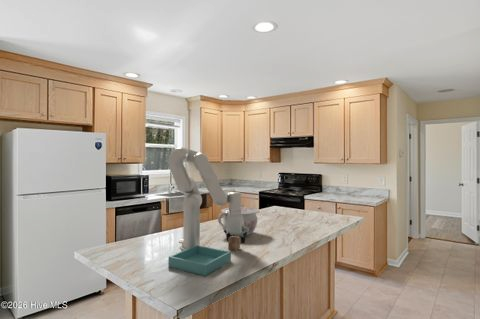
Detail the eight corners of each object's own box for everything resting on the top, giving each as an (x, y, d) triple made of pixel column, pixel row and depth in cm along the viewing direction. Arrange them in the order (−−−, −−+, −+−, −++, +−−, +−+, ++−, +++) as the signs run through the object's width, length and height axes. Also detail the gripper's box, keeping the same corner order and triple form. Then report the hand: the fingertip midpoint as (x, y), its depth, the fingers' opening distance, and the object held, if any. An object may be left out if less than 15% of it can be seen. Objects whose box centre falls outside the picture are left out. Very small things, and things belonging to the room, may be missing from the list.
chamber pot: (260, 230, 216) (260, 202, 216) (258, 240, 188) (259, 208, 188) (223, 228, 218) (223, 201, 218) (216, 238, 191) (217, 207, 191)
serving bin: (168, 267, 139) (168, 256, 139) (196, 254, 158) (196, 245, 158) (205, 276, 128) (205, 265, 128) (230, 261, 148) (230, 251, 148)
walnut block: (228, 249, 168) (228, 237, 168) (232, 247, 172) (232, 235, 172) (235, 250, 165) (235, 238, 165) (239, 248, 169) (240, 236, 169)
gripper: (219, 213, 169) (219, 242, 169) (245, 215, 161) (245, 245, 161) (225, 211, 176) (226, 239, 176) (251, 213, 168) (251, 242, 168)
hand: (235, 242), depth 168 cm, fingers open, 9 cm apart
